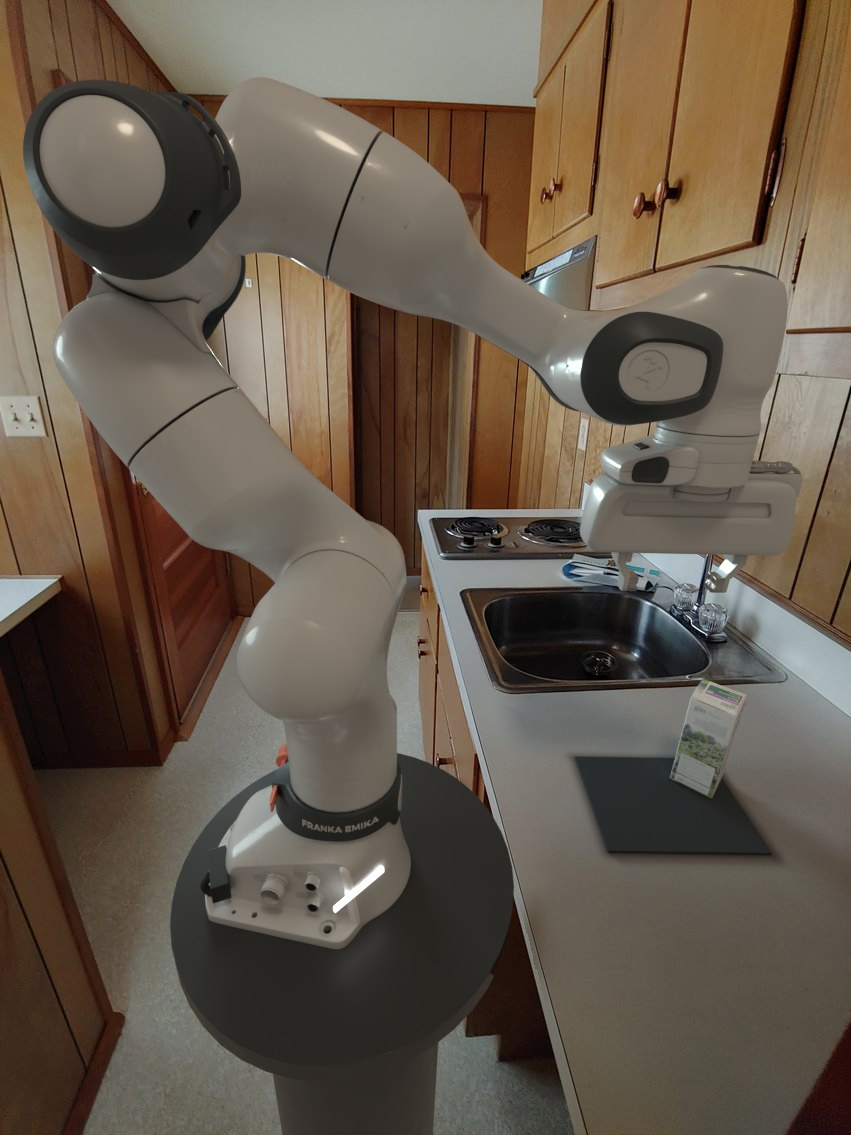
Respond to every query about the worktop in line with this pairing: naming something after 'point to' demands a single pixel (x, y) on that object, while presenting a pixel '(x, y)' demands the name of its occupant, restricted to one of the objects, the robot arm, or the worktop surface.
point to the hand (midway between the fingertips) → (670, 589)
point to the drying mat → (663, 810)
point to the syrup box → (707, 737)
